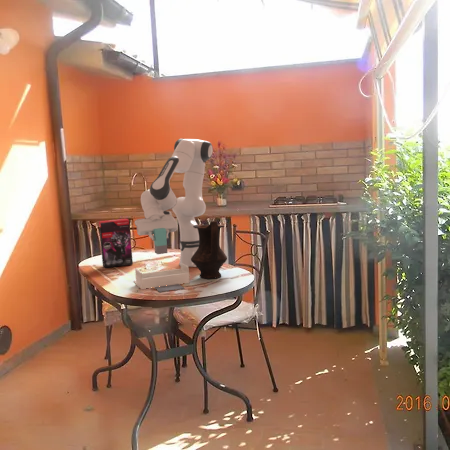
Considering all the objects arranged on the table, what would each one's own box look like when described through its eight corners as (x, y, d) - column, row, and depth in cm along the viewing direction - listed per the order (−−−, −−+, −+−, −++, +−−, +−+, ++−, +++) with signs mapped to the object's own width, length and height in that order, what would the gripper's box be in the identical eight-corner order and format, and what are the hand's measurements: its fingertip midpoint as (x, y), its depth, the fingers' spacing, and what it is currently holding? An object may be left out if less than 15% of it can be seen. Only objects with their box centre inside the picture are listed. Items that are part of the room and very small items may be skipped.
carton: (178, 275, 265) (178, 260, 263) (189, 282, 248) (188, 266, 247) (133, 281, 256) (132, 266, 255) (141, 289, 239) (140, 273, 238)
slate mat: (178, 284, 245) (178, 283, 245) (184, 288, 237) (184, 287, 236) (154, 288, 240) (154, 287, 240) (159, 292, 232) (159, 291, 232)
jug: (187, 275, 264) (184, 218, 260) (220, 271, 270) (217, 215, 266) (199, 284, 244) (196, 223, 240) (235, 279, 251) (232, 219, 247)
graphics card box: (104, 268, 290) (100, 222, 287) (101, 266, 296) (98, 220, 293) (133, 265, 298) (130, 219, 294) (130, 263, 304) (127, 218, 300)
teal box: (164, 251, 250) (163, 227, 249) (167, 253, 246) (165, 228, 244) (155, 252, 249) (153, 228, 247) (157, 254, 244) (155, 229, 242)
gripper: (134, 215, 247) (140, 237, 239) (174, 211, 255) (181, 232, 247) (133, 223, 252) (138, 245, 244) (172, 219, 259) (179, 240, 252)
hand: (160, 239), depth 246 cm, fingers closed on teal box, 5 cm apart
